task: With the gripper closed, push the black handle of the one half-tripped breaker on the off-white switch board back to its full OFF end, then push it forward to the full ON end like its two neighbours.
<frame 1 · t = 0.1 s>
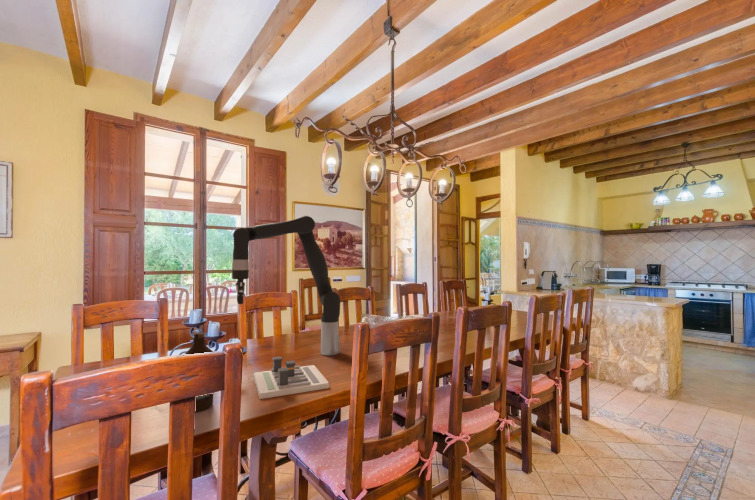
hand: (240, 302, 162), 29 cm above the table, tool pointing down, fingers open, 8 cm apart
tripped breaker handle: (290, 369, 139), point 5 cm above the table, slide at 4.0 cm
olive oil: (197, 407, 116), on the table
switch board: (289, 382, 138), on the table
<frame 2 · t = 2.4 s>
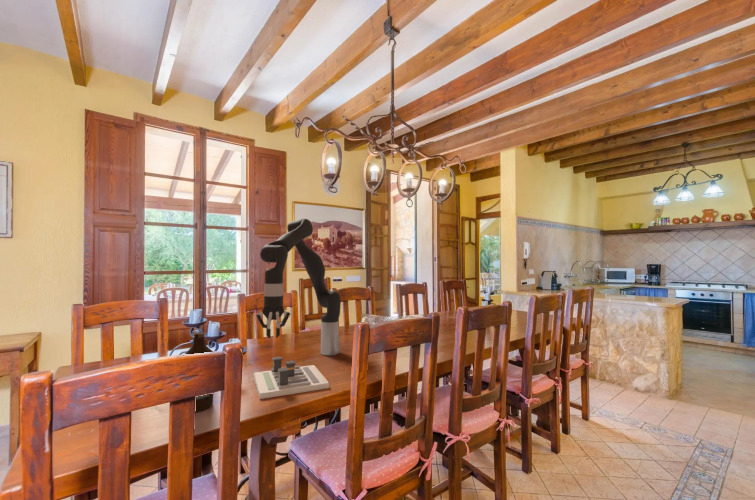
hand: (272, 337, 136), 19 cm above the table, tool pointing down, fingers closed
nothing on the table moved.
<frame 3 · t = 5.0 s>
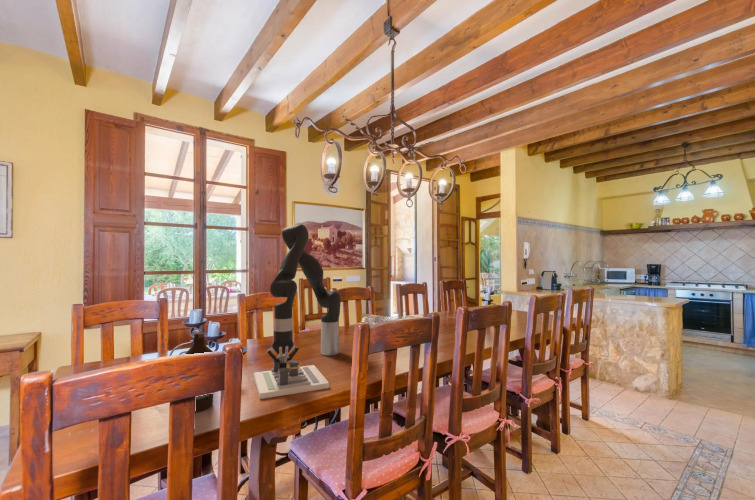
hand: (282, 371, 137), 5 cm above the table, tool pointing down, fingers closed
tripped breaker handle: (293, 368, 139), point 5 cm above the table, slide at 2.6 cm, touching gripper
everything else where it was.
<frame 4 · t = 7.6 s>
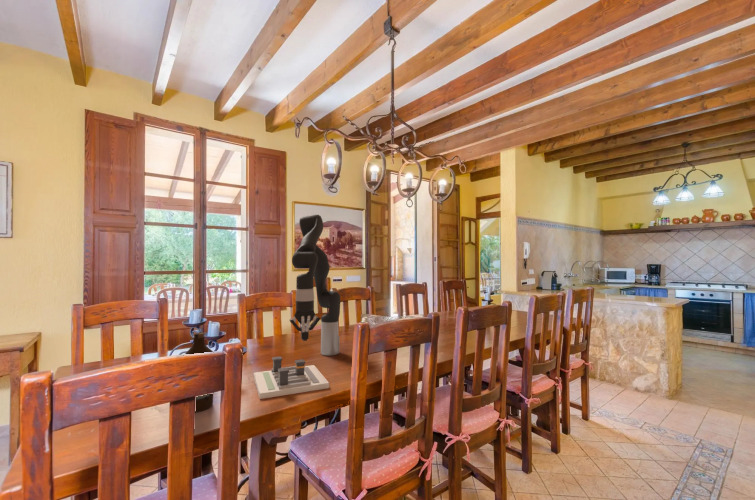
hand: (304, 340, 142), 17 cm above the table, tool pointing down, fingers closed
tripped breaker handle: (299, 368, 140), point 5 cm above the table, slide at 0.0 cm
everything else where it was.
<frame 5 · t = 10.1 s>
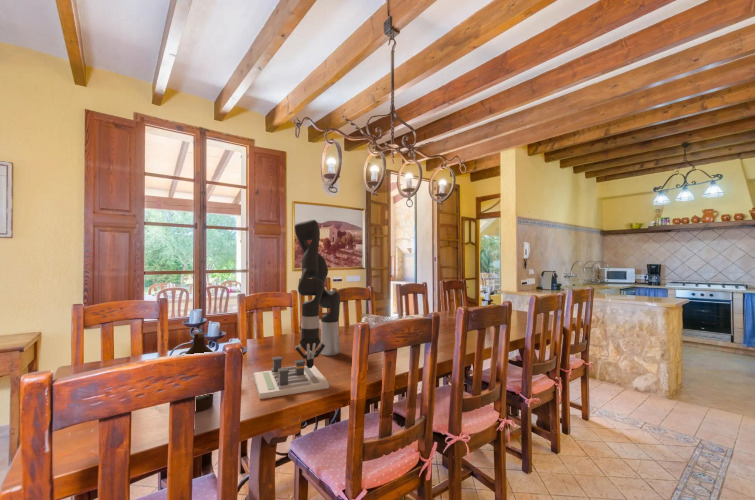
hand: (309, 367, 142), 5 cm above the table, tool pointing down, fingers closed
tripped breaker handle: (299, 368, 140), point 5 cm above the table, slide at 0.1 cm, touching gripper
everything else where it was.
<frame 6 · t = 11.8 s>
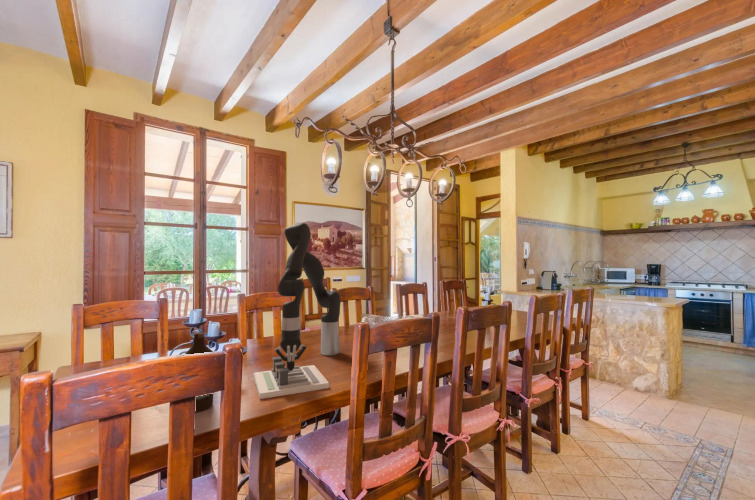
hand: (290, 370, 138), 5 cm above the table, tool pointing down, fingers closed
tripped breaker handle: (279, 370, 137), point 5 cm above the table, slide at 8.0 cm, touching gripper
everything else where it was.
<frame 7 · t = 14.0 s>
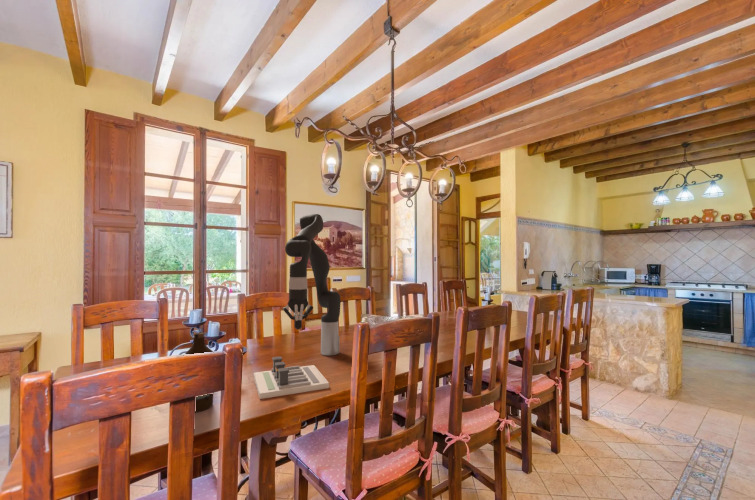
hand: (297, 329, 141), 21 cm above the table, tool pointing down, fingers closed
tripped breaker handle: (279, 370, 137), point 5 cm above the table, slide at 8.0 cm
everything else where it was.
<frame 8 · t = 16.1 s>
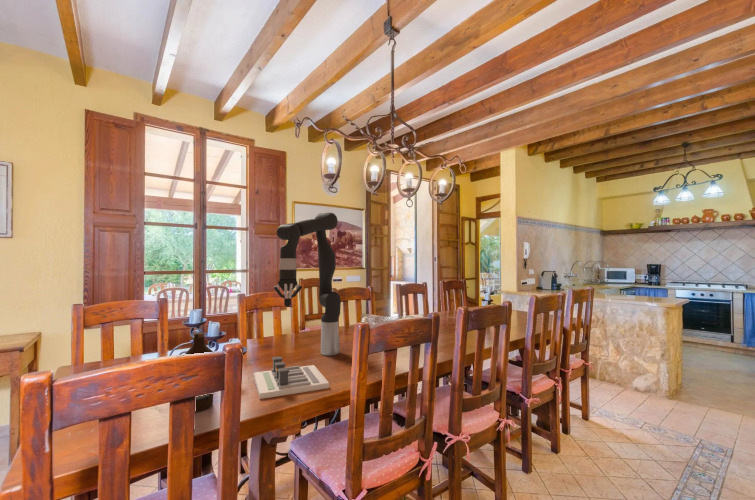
hand: (287, 306, 152), 29 cm above the table, tool pointing down, fingers closed
nothing on the table moved.
at the end: tripped breaker handle slide at 8.0 cm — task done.
